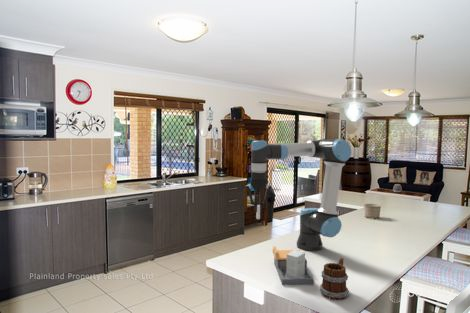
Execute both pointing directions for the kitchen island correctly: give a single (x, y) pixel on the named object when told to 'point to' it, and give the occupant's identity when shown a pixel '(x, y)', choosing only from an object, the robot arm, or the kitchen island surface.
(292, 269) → the small box
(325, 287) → the mug
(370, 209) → the planter
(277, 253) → the lid
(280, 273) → the housing
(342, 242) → the kitchen island surface
